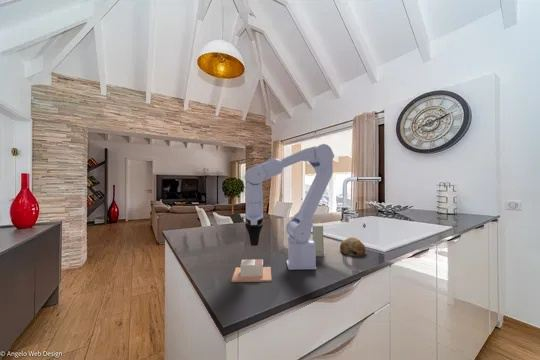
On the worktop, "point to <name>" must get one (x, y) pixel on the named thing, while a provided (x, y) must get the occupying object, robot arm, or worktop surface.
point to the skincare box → (318, 239)
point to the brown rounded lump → (352, 247)
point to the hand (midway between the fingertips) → (254, 242)
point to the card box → (252, 268)
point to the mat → (263, 278)
